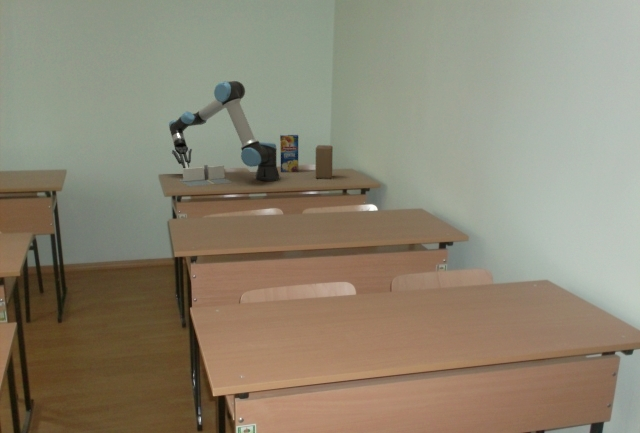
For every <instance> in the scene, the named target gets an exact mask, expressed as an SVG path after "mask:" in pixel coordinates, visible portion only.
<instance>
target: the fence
mask: <svg viewBox="0 0 640 433" xmlns="http://www.w3.org/2000/svg"><path fill="white" fill-rule="evenodd" d="M203 167H204V178H205V180H208V179H209V180H211V179H222V178H225V165H212V166H208V165H207V164H204V165H203Z"/></svg>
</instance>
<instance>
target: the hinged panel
mask: <svg viewBox="0 0 640 433" xmlns="http://www.w3.org/2000/svg"><path fill="white" fill-rule="evenodd" d="M204 178H205V171H204V166H202V167H199V166H198V167H189V168H186V169H185V168H182V179H183V181H194V180H204Z"/></svg>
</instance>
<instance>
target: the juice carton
mask: <svg viewBox="0 0 640 433" xmlns="http://www.w3.org/2000/svg"><path fill="white" fill-rule="evenodd" d="M279 139H280V142H279V143H280V173H299V134H280V136H279Z"/></svg>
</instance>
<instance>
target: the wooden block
mask: <svg viewBox="0 0 640 433" xmlns="http://www.w3.org/2000/svg"><path fill="white" fill-rule="evenodd" d="M333 149H334V148H333V145H329V144H328V145H325V144H323V145H321V144H319V145H317V146H316V147H315V178H316V179H325V180H326V179H327V180H328V179H329V180H330V179H331V178H332V176H333Z"/></svg>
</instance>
